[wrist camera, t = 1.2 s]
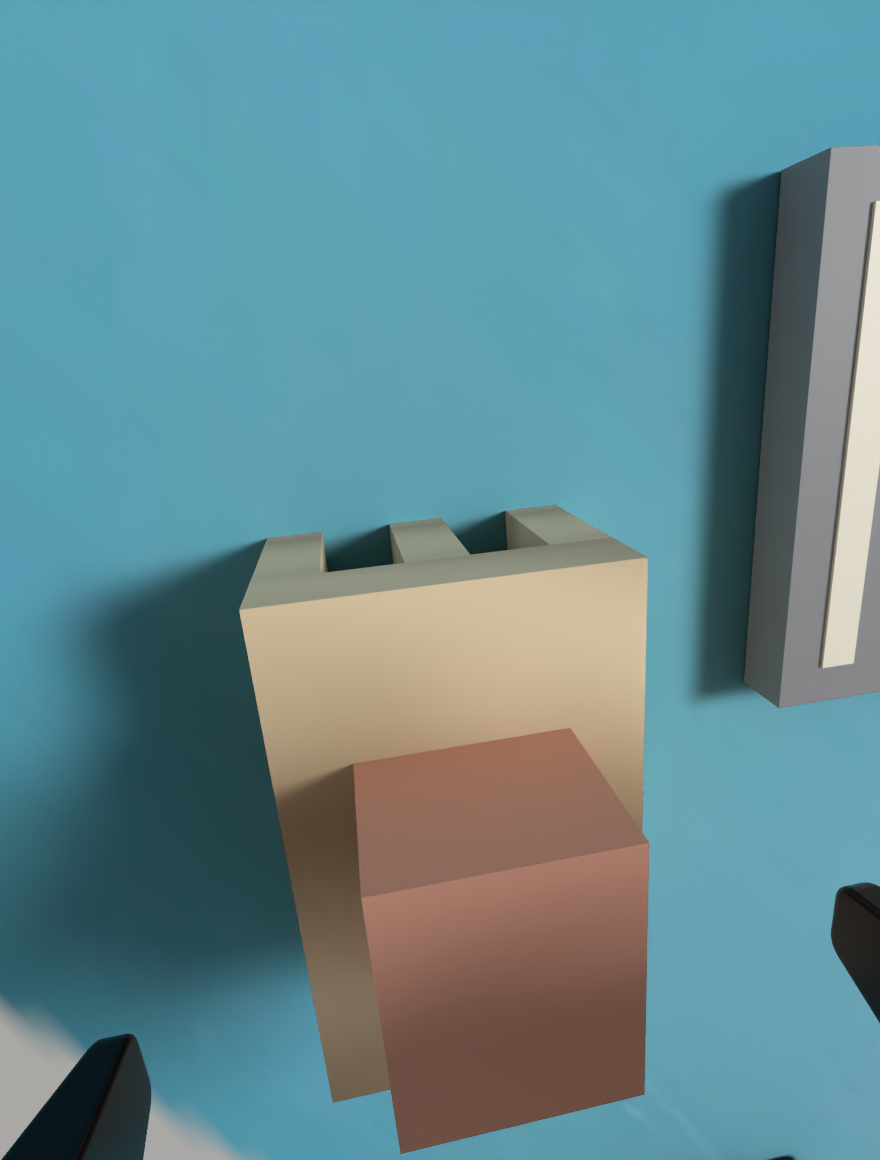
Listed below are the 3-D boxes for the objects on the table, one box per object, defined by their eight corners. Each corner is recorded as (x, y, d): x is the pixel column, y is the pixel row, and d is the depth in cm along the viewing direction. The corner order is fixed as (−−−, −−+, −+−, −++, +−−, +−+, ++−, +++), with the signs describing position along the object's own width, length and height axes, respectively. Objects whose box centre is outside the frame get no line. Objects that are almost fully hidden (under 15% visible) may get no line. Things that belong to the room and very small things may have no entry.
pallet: (563, 873, 15) (638, 1033, 12) (332, 917, 15) (332, 1102, 11) (553, 503, 13) (647, 557, 9) (267, 536, 12) (239, 609, 8)
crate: (575, 937, 11) (644, 1094, 8) (384, 976, 10) (400, 1152, 8) (570, 727, 10) (649, 843, 7) (353, 763, 9) (360, 897, 7)
